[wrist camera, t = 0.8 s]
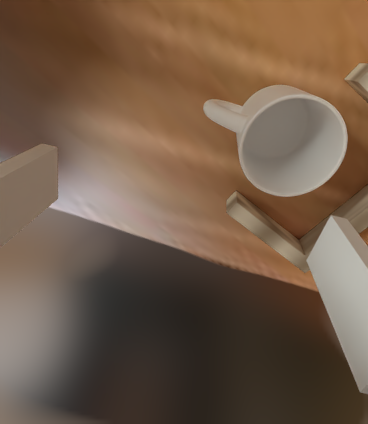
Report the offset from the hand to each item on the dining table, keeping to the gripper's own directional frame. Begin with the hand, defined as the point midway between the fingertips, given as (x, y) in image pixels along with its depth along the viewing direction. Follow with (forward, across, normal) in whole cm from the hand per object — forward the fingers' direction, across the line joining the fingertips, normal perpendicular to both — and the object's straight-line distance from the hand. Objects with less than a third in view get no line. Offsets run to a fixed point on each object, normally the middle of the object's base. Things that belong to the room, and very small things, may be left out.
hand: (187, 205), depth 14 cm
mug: (+22, +5, +2) cm, 22 cm away
